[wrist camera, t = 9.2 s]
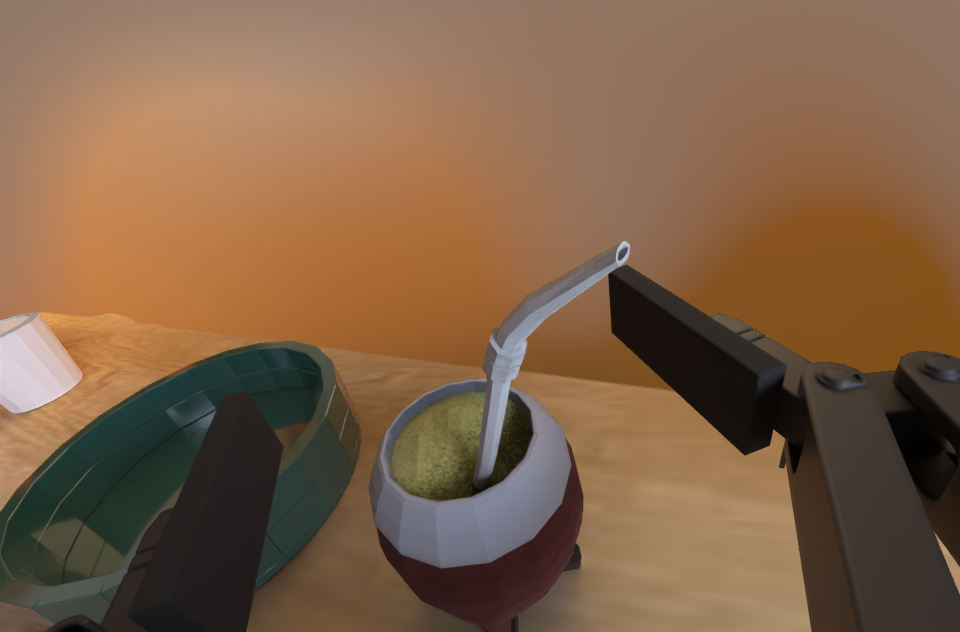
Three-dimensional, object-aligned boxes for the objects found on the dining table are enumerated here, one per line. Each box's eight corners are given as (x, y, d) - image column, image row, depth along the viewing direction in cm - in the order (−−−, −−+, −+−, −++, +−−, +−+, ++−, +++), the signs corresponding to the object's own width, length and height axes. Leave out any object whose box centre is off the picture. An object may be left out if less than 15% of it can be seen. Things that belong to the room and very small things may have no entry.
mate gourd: (430, 500, 20) (298, 205, 13) (591, 479, 20) (554, 147, 12) (407, 699, 14) (117, 347, 6) (645, 680, 13) (638, 247, 6)
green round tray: (-29, 621, 20) (-110, 577, 18) (217, 387, 34) (188, 346, 32) (238, 689, 15) (171, 640, 13) (401, 384, 29) (381, 335, 27)
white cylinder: (-3, 406, 39) (-69, 347, 36) (81, 362, 44) (31, 306, 40) (6, 428, 35) (-66, 365, 32) (99, 378, 40) (44, 317, 36)
